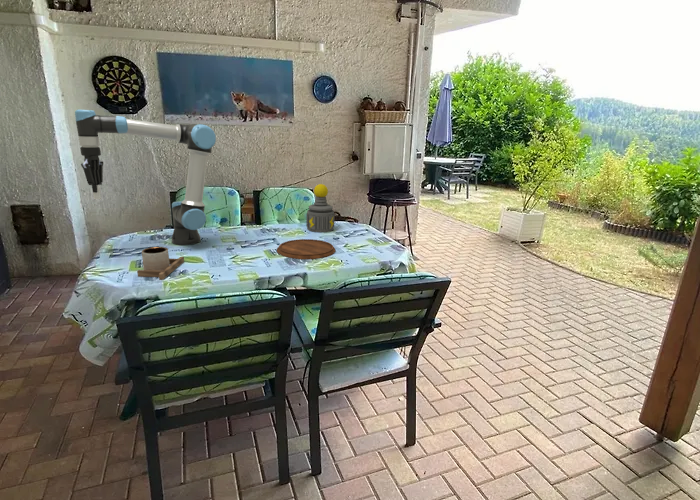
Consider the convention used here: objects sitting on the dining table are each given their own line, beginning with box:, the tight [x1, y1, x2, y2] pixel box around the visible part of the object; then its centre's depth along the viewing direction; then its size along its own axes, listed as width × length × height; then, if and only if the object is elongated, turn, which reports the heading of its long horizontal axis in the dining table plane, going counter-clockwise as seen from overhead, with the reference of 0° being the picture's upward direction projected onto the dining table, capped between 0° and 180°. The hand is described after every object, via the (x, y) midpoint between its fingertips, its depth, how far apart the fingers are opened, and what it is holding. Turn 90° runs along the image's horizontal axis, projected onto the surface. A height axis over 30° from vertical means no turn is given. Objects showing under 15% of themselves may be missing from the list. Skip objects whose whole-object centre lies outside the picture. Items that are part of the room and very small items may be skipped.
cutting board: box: [276, 238, 336, 260], centre depth 219 cm, size 32×32×2 cm
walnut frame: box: [136, 256, 185, 281], centre depth 181 cm, size 24×12×2 cm, turn 1°
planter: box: [141, 246, 170, 271], centre depth 180 cm, size 11×11×10 cm
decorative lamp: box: [305, 183, 336, 233], centre depth 260 cm, size 19×19×30 cm
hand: (97, 199), depth 184 cm, fingers closed
